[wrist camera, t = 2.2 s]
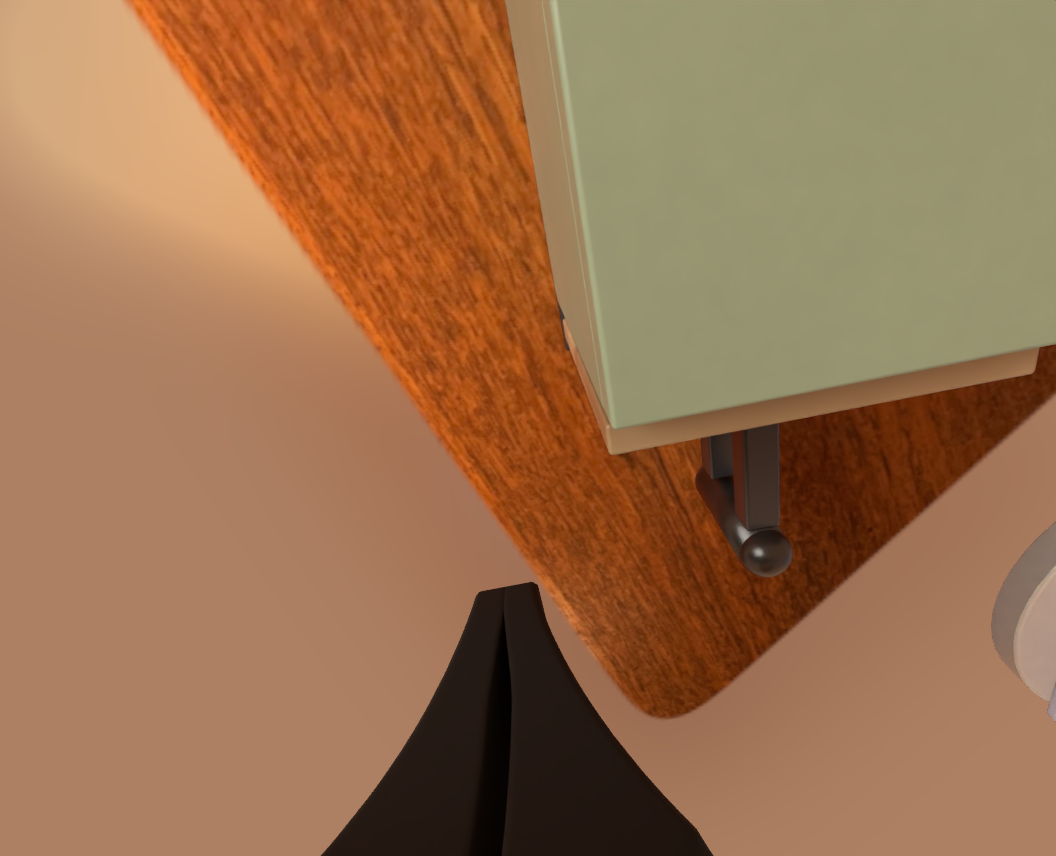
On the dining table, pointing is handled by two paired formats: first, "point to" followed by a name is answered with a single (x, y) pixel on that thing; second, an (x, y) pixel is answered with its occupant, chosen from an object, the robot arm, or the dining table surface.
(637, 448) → the sliding door
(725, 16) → the cupboard
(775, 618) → the dining table surface
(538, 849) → the robot arm
